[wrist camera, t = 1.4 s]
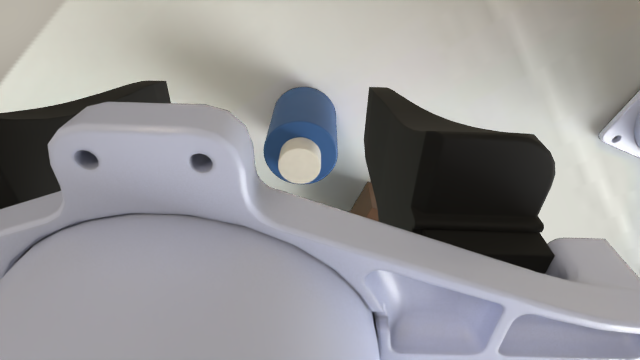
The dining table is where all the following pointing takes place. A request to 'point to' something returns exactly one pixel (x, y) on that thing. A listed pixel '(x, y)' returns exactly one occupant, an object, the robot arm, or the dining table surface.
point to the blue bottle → (302, 137)
